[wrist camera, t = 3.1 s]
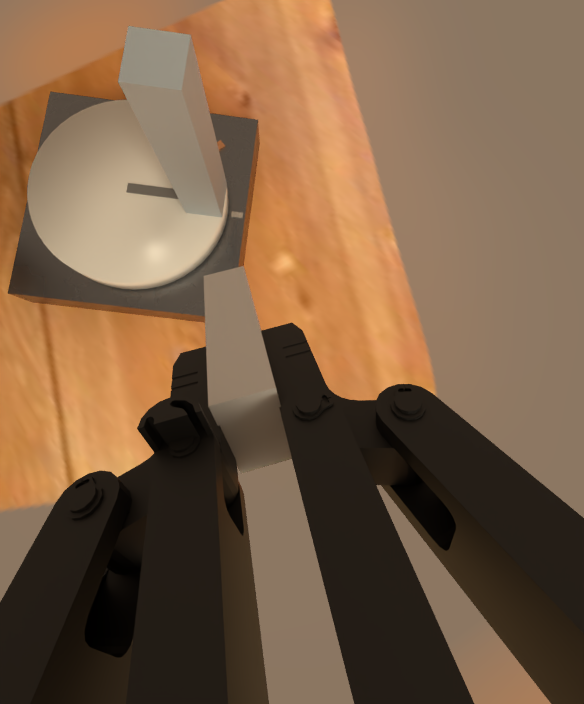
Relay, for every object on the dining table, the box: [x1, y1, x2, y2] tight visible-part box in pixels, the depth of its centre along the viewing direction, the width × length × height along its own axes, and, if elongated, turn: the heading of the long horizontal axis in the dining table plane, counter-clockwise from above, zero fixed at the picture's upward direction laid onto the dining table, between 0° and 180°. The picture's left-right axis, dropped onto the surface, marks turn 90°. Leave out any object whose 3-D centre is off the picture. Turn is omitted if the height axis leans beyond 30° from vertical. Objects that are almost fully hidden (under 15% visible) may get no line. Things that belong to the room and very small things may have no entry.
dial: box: [27, 26, 229, 290], centre depth 23 cm, size 16×16×14 cm
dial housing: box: [8, 92, 259, 322], centre depth 32 cm, size 19×19×3 cm
